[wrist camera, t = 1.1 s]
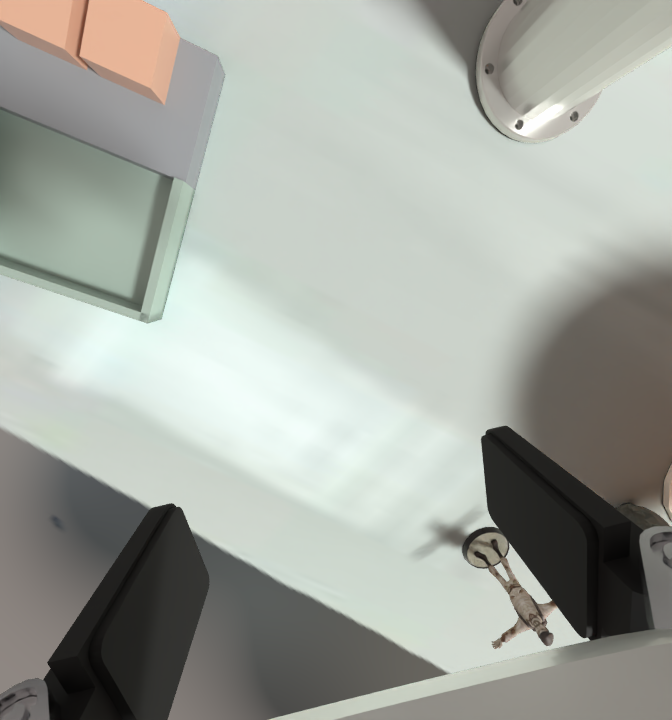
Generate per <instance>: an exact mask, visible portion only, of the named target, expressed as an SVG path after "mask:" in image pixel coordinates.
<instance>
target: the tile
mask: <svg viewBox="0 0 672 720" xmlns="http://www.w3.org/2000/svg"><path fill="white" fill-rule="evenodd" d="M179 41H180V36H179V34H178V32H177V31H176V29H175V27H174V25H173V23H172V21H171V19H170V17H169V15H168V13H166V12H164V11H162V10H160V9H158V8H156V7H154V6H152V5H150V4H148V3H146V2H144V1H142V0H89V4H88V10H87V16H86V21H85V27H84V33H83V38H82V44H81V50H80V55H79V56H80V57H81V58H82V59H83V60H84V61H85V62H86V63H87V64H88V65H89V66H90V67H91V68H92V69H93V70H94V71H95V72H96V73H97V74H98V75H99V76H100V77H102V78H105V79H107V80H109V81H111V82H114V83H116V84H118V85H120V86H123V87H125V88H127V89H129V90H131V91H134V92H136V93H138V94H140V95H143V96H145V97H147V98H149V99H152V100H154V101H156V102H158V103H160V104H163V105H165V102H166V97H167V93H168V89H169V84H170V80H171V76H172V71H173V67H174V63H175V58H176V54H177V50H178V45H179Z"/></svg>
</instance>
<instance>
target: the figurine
mask: <svg viewBox="0 0 672 720" xmlns="http://www.w3.org/2000/svg"><path fill="white" fill-rule="evenodd" d="M508 550H509V541H508V540H507V539H506V537H505V536H504V535H503V533H502V532H501V531H500V529H498V528H494V527H486V528H482V529H479V530H477V531H475V532H474V533H472V534H471V535H470V536H469V537H468V538H467V539H466V541H465V543H464V545H463V555H464V558H465V560H466V561H467V562H468V563H469V564H471V565H473V566H475V567H477V568H483V569H485V568H489V571H490V572H491V573H492V574H493V575H494V576H495V577H496V578H497V579H498V580H499V582H500V583H501V584H502V586H503V587H504V588H505V590H506V591H507V592H508V594H509V595H510V600H511V602H512V604H513V606H514V609H515V610H516V612H517V614H518V616H519V618H518V621H517V623H516V624H515V625H514V627H512V628H511V629H509V630H508V631H506V632H505V633H503V634H502V637H501V638H500V639H497V640H496V641H494V642H492V643H494V644H492V645H495V646H493V648H494V647H495V648H494V649H496V648H498V647H499V648H500V647H501V646H502V642H508V641H509V640H511V639H512V638H514V637H515V636H516V635H517V634H519V633H521V632H524V631H526V630H529V629H532V630H533V631H536V632H537V634H538V637H539V638H540V639H541V641H542V642H543V643H544V644H545V645H546V646H550V645H551V644H552V642H553V634H552V633H549V630H548V629H547V628H546V627H545V626H546V624H547V621H546V617H547V616H548V615H549V614H550V613H551V612H552V611H553V610H555V609H556V608H558V607H557V606H556V604H555V603H554V602H553V600H552V601H551V602H549V603H546V604H537V603H536V602H535V600H534V599H533V598H532V597H531V596H530V595H529V594H528V593H527V591H526V590H525V589H524V588H522V587H521V585H520V584H519V582H518V581H517V579H516V578H515V576H514V574H513V573H512V571H511V569H510V567H509V564H508V561H507V559H506V558H505V557H506V555H507V554H508ZM500 562H501V563H502V565H503V566H504V568H505V570H506V572H507V574H508V576H509V578H510V580H509V581H508V582H506V581H505V580H504V578H503V577H502V576H501V575H500V574H499V573H498V572H497V570H496V569H495V567H494V566H495V565H497V564H499V563H500Z"/></svg>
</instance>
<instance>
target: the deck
mask: <svg viewBox="0 0 672 720" xmlns="http://www.w3.org/2000/svg"><path fill="white" fill-rule="evenodd" d="M224 78H225V73H224V70H223V68H222V65H221V63H220V60H219V58H218V56H217V55H215V54H213V53H211V52H209V51H207V50H205V49H203V48H201V47H198V46H196V45H194V44H192V43H190V42H188V41H186V40H184V39H182V38H180V41H179V45H178V50H177V54H176V58H175V63H174V67H173V71H172V76H171V80H170V84H169V89H168V93H167V97H166V102H165V105H163V104H160V103H158V102H156V101H154V100H152V99H149V98H147V97H145V96H143V95H140V94H138V93H136V92H134V91H131V90H129V89H127V88H125V87H123V86H120V85H118V84H116V83H114V82H111V81H109V80H107V79H105V78H102V77H100V76H99V75H98V74H97V73H96V72H95V71H94V70H93V69H92V68H91V67H90V66H89V65H88V69H87V70H85V69H82V68H80V67H78V66H76V65H73V64H71V63H69V62H67V61H65V60H62V59H60V58H58V57H56V56H53V55H51V54H49V53H47V52H44V51H42V50H40V49H38V48H36V47H33V46H31V45H29V44H27V43H24V42H22V41H20V40H18V39H17V38H15V37H14V36H13V35H12V34H10V33H9V32H8V31H7V30H6V29H4V28H3V27H2V26H1V25H0V109H1V110H3V111H5V112H8V113H10V114H13V115H15V116H18V117H20V118H23V119H25V120H27V121H30V122H32V123H35V124H37V125H40V126H42V127H44V128H47V129H49V130H52V131H54V132H57V133H59V134H61V135H64V136H66V137H69V138H71V139H74V140H76V141H78V142H81V143H83V144H86V145H88V146H91V147H93V148H95V149H98V150H100V151H103V152H105V153H108V154H110V155H112V156H115V157H117V158H120V159H122V160H125V161H127V162H130V163H132V164H134V165H137V166H139V167H142V168H144V169H147V170H149V171H151V172H154V173H156V174H159V175H161V176H164V177H166V178H168V179H171V180H173V179H174V177H175V178H177V179H180V180H182V181H184V182H185V183H187V184H188V185H189V186H190V187H192V188H193V189H194V190H195V189H196V185H197V181H198V177H199V173H200V169H201V166H202V162H203V158H204V154H205V150H206V146H207V143H208V139H209V135H210V131H211V127H212V123H213V120H214V116H215V112H216V108H217V104H218V101H219V97H220V93H221V89H222V85H223V81H224Z"/></svg>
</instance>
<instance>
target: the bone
mask: <svg viewBox="0 0 672 720" xmlns="http://www.w3.org/2000/svg"><path fill="white" fill-rule="evenodd" d="M616 510H618V511H619V512H620V513H622V514H623V515H624V516H625V517H627V518H628V519H629V520H631V521H632V522H633V523H635V524H636V525H637V526H639V527H640V528H641V529H642V530H646V529H649V528H651V527H654V526H669V524H668V523H667V522H666V521H665V520H664V519H663V518H661V517H660V516H659V515H658V514H656V513H654V512H653V511H651V510H649V509H647V508H644V507H640V506H635V505H633V504H630V503H629V504H623V505H621V506H619V507H618V508H616Z"/></svg>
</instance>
